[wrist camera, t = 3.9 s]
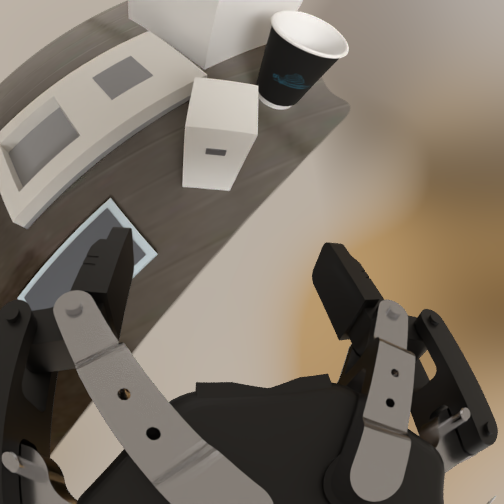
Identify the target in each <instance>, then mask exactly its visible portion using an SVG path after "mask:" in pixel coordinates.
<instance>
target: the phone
mask: <svg viewBox="0 0 504 504" xmlns="http://www.w3.org/2000/svg"><path fill="white" fill-rule="evenodd" d="M113 227H125V228H131V229H132V236H133V252H134V273H133V278H134V277H135V276H136V275H137V274H138V273H139V272H140V271H141V270H142V269H143V268H144V267H145V266H146V265H147V264H148V263H149V262H150V261H151V260H152V259H153V258H154V257H156V256H157V255H158V254H157V253H156V252H155V251H154V249H153V248H152V247H151V246H150V245H149V244H148V243H147V241H146V240H145V239H144V238H143V237H142V236H141V234H140V233H139V232H138V231H137V230H136V228H135V227H134V226H133V225H132V224H131V222H130V221H129V220H128V219H127V218H126V216H125V215H124V214H123V213H122V212H121V210H120V209H119V208H118V207H117V205H116V204H115V203H114V202H113V200H112V199H111V198H110V199H109V200H108V201H106V202H105V203H104V204H103V205H102V206H101V207H100V208H99V209H98V210H97V211H96V212H94V213H93V214H92V215H91V216H90V217H89V218H88V219H87V220H86V221H85V222H84V223H83V224H82V225H81V226H80V227H79V228H78V229H77V230H76V231H75V232H74V233H73V234H72V235H71V236H70V237H69V238H68V239H67V240H66V241H65V242H64V243H63V244H62V246H61V247H60V248H59V249H58V250H57V251H56V252H55V253H54V254H53V255H52V257H51V258H50V259H49V260H48V261H47V262H46V263H45V264H44V266H43V267H42V268H41V269H40V270H39V272H38V273H37V274H36V275H35V276H34V278H33V279H32V280H31V281H30V283H29V284H28V285H27V286H26V288H25V289H24V290H23V291H22V293H21V294H20V295H19V297H18V300H23V301H25V302H27V303H28V304H29V306H30V308H31V310H32V311H34V310H40V309H46V308H51V307H54V305H55V302H56V301H57V299H58V298H59V297H60V296H62V295H63V294H65V293H67V292H70V290H71V288H72V285H73V283H74V281H75V279H76V276H77V274H78V272H79V270H80V268H81V266H82V265H83V261H84V259H85V257H86V255H87V253H88V251H89V249H90V247H91V246H92V245H93V244H94V243H95V242H97V241H98V240H99V239H107V237H108V235H109V233H110V231H111V229H112V228H113ZM133 278H132V279H133Z"/></svg>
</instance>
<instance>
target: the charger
mask: <svg viewBox="0 0 504 504" xmlns="http://www.w3.org/2000/svg"><path fill="white" fill-rule="evenodd" d="M257 135H258V85H252V84H246V83H240V82H234V81H226V80H219V79H210V78H200V77H195V79H194V83H193V88H192V93H191V98H190V103H189V108H188V113H187V119H186V124H185V136H184V155H183V183H182V187H192V188H205V189H216V190H227V191H230V189H231V187H232V185H233V183H234V181H235V179H236V177H237V175H238V173H239V171H240V169H241V167H242V165H243V163H244V161H245V159H246V157H247V155H248V153H249V151H250V149H251V147H252V145H253V143H254V141H255V139H256V137H257Z"/></svg>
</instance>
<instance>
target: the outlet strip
mask: <svg viewBox="0 0 504 504" xmlns="http://www.w3.org/2000/svg"><path fill="white" fill-rule="evenodd" d="M195 77H200V78H207V74H206V73H205V72H203V71H202V70H201V69H200V68H199V67H197V66H196V65H195V64H194V63H192V62H191V61H190V60H188V59H187V58H186V57H185V56H183V55H182V54H181V53H179V52H178V51H177V50H175V49H174V48H173V47H171V46H170V45H169V44H167V43H166V42H165V41H163V40H162V39H160V38H159V37H158V36H156V35H155V34H153V33H152V32H150V31H148V32H145V33H143V34H141V35H138V36H136V37H134V38H132V39H130V40H128V41H126V42H124V43H121V44H119V45H118V46H116V47H114V48H112V49H110V50H108V51H106V52H104V53H102V54H101V55H99V56H97V57H95V58H94V59H92V60H90V61H89V62H87V63H85V64H84V65H82V66H81V67H79V68H77V69H76V70H74V71H73V72H71V73H70V74H68V75H67V76H65V77H64V78H62V79H61V80H60V81H58V82H57V83H55V84H54V85H53V86H51V87H50V88H49V89H47V90H46V91H45V92H44V93H42V94H41V95H40V96H38V97H37V98H36V99H35V100H34V101H32V102H31V103H30V104H29V105H28V106H26V107H25V108H24V109H23V110H22V111H21V112H20V113H19V114H17V115H16V116H15V117H14V118H13V119H12V120H11V121H10V122H9V123H8V124H7V125H6V126H5V127H4V128H3V129H2V130H1V131H0V193H1V196H2V198H3V201H4V203H5V206H6V208H7V210H8V213H9V215H10V217H11V219H12V221H13V222H14V223H16V224H18V225H20V226H22V227H24V228H26V229H28V228H29V227H30V226H31V225H32V224H33V222H34V221H35V220H36V219H37V218H38V217H39V216H40V215H41V214H42V213H43V212H44V211H45V210H46V209H47V208H48V207H49V206H50V205H51V204H52V203H53V202H54V201H55V200H56V199H57V198H58V197H59V196H60V195H61V194H62V193H63V192H64V191H65V190H66V189H67V188H68V187H69V186H71V185H72V184H73V183H74V182H75V181H76V180H77V179H78V178H79V177H81V176H82V175H83V174H84V173H85V172H86V171H88V170H89V169H90V168H91V167H92V166H94V165H95V164H96V163H97V162H98V161H100V160H101V159H102V158H103V157H105V156H106V155H107V154H109V153H110V152H111V151H112V150H114V149H115V148H116V147H118V146H119V145H120V144H122V143H123V142H125V141H126V140H127V139H129V138H130V137H132V136H133V135H134V134H136V133H137V132H139V131H140V130H142V129H143V128H145V127H146V126H148V125H149V124H151V123H152V122H154V121H155V120H157V119H158V118H160V117H162V116H163V115H165V114H166V113H168V112H170V111H171V110H173V109H175V108H176V107H178V106H180V105H182V104H183V103H185V102H187V101H189V100H190V98H191V93H192V88H193V83H194V79H195Z"/></svg>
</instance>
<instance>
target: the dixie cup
mask: <svg viewBox="0 0 504 504" xmlns="http://www.w3.org/2000/svg"><path fill="white" fill-rule="evenodd" d="M271 25H272V26H271V30H270V34H269V37H268V41H267V45H266V48H265V52H264V56H263V60H262V64H261V68H260V72H259V76H258V79H257V84H256V85H258V98H259V99H260V100H261V101H262V102H263V103H264V104H265V105H267V106H269V107H271V108H274V109H280V110H283V109H287V108H290V107H291V106H292V105H294V104H296V103H297V102H298V101H299V100H300V99H301V98H302V97H303V95H304V94H305V93H306V92H307V91H308V90H309V89H310V88H311V87H312V86H313V85H314V84H315V83H316V82H317V81H318V80H319V79H320V77H321V76H322V75H323V74H324V73H325V72H326V71H327V70H328V69H329V68H330V67H331V66H332V65H333V64H334V63H335V62H336V61H337V60H338V59H339V58H342V57H344V56H346V55H347V53H348V50H349V47H348V44H347V42H346V40H345V39H344V37H343V36H342V35H341V34H340V32H338V31H337V30H336V29H335V28H334V27H332V26H331V25H330V24H328V23H327V22H325V21H323V20H321V19H319V18H317V17H315V16H312V15H310V14H307V13H303V12H299V11H293V10H284V11H279V12H276V13H275V14H273V16H272V17H271Z"/></svg>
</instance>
